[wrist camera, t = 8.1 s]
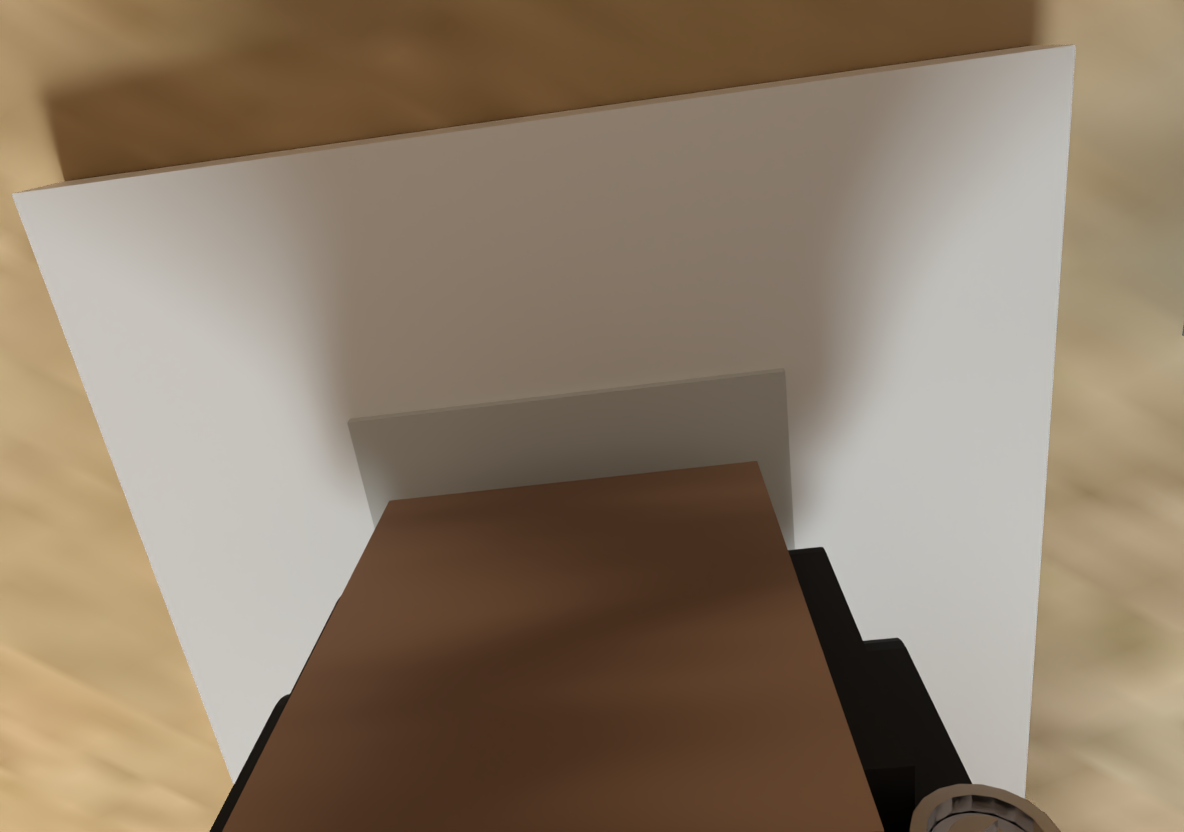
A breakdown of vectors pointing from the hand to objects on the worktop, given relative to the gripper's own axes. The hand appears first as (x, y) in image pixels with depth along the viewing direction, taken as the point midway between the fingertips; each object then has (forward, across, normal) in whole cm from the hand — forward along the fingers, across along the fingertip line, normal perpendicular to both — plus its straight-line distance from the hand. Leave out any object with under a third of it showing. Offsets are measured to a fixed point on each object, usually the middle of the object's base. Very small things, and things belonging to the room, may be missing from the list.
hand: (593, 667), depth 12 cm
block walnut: (+1, 0, 0) cm, 1 cm away
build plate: (+3, 0, 0) cm, 3 cm away
